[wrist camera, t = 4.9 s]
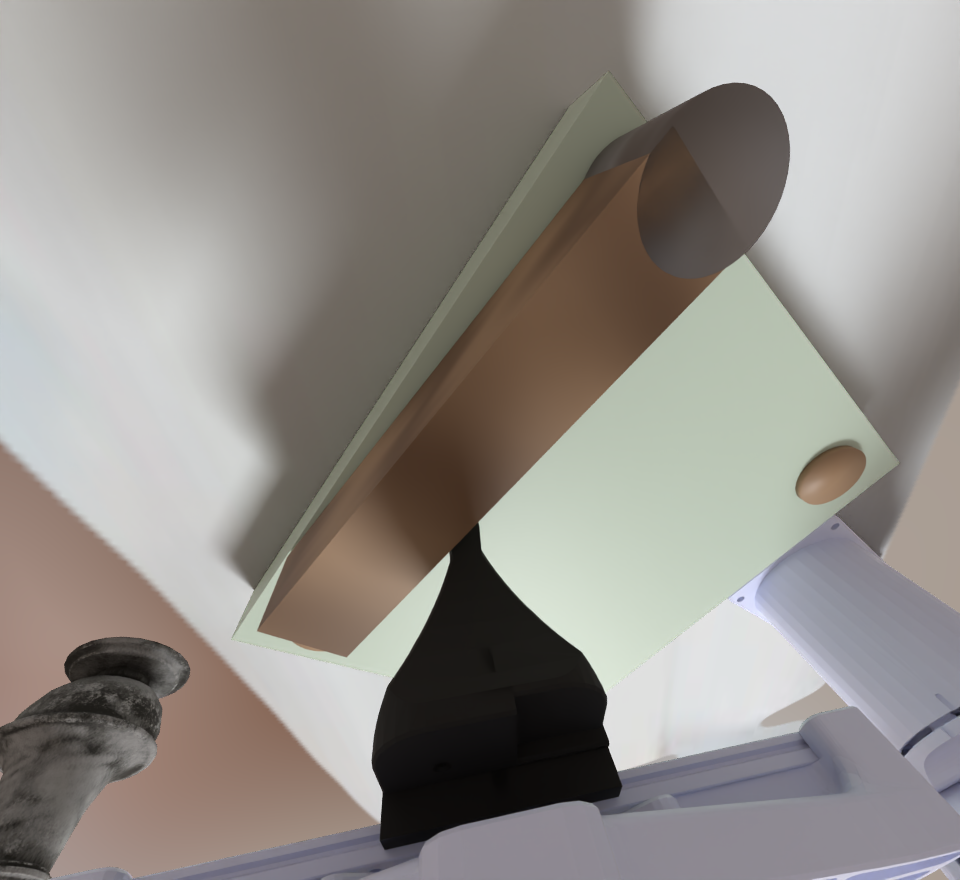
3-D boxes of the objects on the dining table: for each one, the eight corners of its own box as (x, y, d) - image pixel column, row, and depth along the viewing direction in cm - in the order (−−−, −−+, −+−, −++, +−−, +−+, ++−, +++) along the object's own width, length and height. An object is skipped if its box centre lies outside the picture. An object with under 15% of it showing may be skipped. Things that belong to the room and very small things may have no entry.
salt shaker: (65, 622, 17) (-523, 1256, 6) (208, 645, 19) (-50, 1146, 8) (52, 693, 19) (-409, 1265, 8) (183, 707, 21) (-51, 1174, 10)
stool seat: (844, 438, 19) (907, 466, 17) (558, 679, 26) (573, 724, 23) (569, 106, 11) (615, 64, 8) (253, 590, 17) (227, 646, 15)
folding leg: (645, 94, 9) (744, 29, 6) (709, 199, 10) (813, 183, 7) (284, 555, 13) (253, 630, 11) (360, 585, 15) (349, 658, 12)
